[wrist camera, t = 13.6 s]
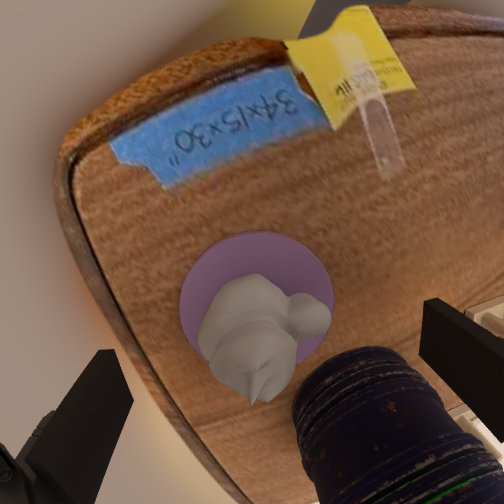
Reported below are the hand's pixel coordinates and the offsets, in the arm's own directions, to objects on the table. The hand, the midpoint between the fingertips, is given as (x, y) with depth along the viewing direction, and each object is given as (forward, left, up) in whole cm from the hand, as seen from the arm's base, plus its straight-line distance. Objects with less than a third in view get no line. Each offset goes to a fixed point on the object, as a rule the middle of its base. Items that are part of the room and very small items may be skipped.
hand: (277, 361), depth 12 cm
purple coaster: (0, 0, -7) cm, 7 cm away
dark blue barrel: (+9, +6, -7) cm, 13 cm away
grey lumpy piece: (0, 0, -6) cm, 6 cm away
